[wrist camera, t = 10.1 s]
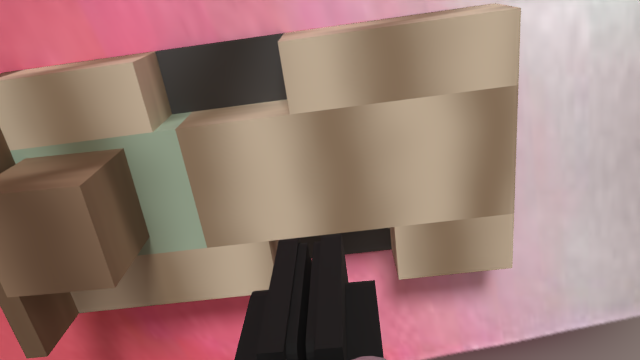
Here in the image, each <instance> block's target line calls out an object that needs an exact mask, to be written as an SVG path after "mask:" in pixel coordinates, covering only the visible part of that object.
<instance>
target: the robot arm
mask: <svg viewBox="0 0 640 360" xmlns="http://www.w3.org/2000/svg"><path fill="white" fill-rule="evenodd" d="M235 360H386V359H384V357H383V349H382V340H381V331H380V322H379V314H378V305H377V296H376V287H375V280H373V281H362V282H350V283H348V276H347V269H346V262H345V254H344V247H343V240H342V234H334V235H324V236H321V241H318V242H314V243H313V255H312V261H311V255H310V249H309V244H308V243H301V240H300V238H294V239H284V240H279V242H278V246H277V251H276V256H275V261H274V266H273V271H272V276H271V281H270V286H269V290H260V291H253V292H252V294H251V297H250V300H249V304H248V308H247V312H246V316H245V320H244V324H243V328H242V332H241V336H240V340H239V344H238V348H237V352H236V356H235Z"/></svg>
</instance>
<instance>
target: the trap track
mask: <svg viewBox="0 0 640 360" xmlns="http://www.w3.org/2000/svg"><path fill="white" fill-rule="evenodd" d="M520 17H521V8H518V7H512V6H507V5H501V4H496V3H495V4H488V5H481V6H474V7H466V8H459V9H452V10H445V11H438V12H431V13H424V14H417V15H410V16H402V17H395V18H388V19H381V20H374V21H367V22H360V23H353V24H346V25H339V26H331V27H324V28H317V29H310V30H303V31H296V32H289V33H282V34H275V35H267V36H260V37H253V38H246V39H239V40H232V41H225V42H218V43H211V44H204V45H196V46H189V47H182V48H175V49H168V50H161V51H154V52H147V53H140V54H132V55H125V56H118V57H111V58H104V59H97V60H90V61H83V62H76V63H69V64H61V65H54V66H47V67H40V68H33V69H26V70H19V71H12V72H5V73H1V74H0V174H1V173H2V172H4V171H6V170H7V169H9V168H10V167H12V166H14V165H15V164H17V163H19V162H20V161H22V160H23V159H25V158H34V157H44V156H54V155H63V154H73V153H82V152H92V151H102V150H111V149H121V148H124V152H125V155H126V158H127V162H128V165H129V168H130V172H131V175H132V179H133V182H134V185H135V189H136V192H137V195H138V199H139V202H140V206H141V209H142V212H143V216H144V219H145V222H146V226H147V229H148V232H149V236H150V237H149V239H148V240H147V242H146V243H145V245H144V246H143V248H142V249H141V251H140V252H139V253H138V255H137V256H136V258H135V259H134V261H133V262H132V264H131V265H130V267H129V268H128V270H127V271H126V273H125V274H124V276H123V277H122V279H121V280H120V282H119V283H118V285H117V286H116V288H111V289H100V290H88V291H77V292H65V293H54V294H42V295H31V296H19V297H8V298H7V296H6V294H5V291H4V289H3V287H2V285H1V283H0V306H1V308H2V310H3V312H4V314H5V316H6V318H7V320H8V322H9V324H10V326H11V328H12V330H13V332H14V334H15V336H16V338H17V340H18V342H19V344H20V346H21V348H22V350H23V352H24V354H25V356H26V358H36V357H46V356H48V355H49V354H50V352H51V351H52V350H53V348H54V347H55V345H56V344H57V343H58V341H59V340H60V339H61V337H62V336H63V334H64V333H65V332H66V330H67V329H68V328H69V326H70V325H71V323H72V322H73V321H74V319H75V318H76V317H77V315H78V314H79V313H84V312H94V311H104V310H113V309H123V308H132V307H142V306H152V305H161V304H171V303H180V302H190V301H200V300H209V299H219V298H228V297H238V296H248V295H251V294H252V292H253V291H260V290H269V286H270V281H271V276H272V271H273V266H274V261H275V256H276V251H277V246H278V242H279V240H284V239H294V238H300V240H301V243H308V244H309V249H310V255H311V258H312V255H313V243H314V242H318V241H321V236H324V235H334V234H342V240H343V247H344V254H353V253H362V252H371V251H380V250H390V249H392V253H393V257H394V261H395V266H396V270H397V274H398V278H399V280H401V279H411V278H420V277H430V276H440V275H449V274H459V273H468V272H478V271H488V270H497V269H507V268H512V259H513V229H514V198H515V168H516V138H517V108H518V78H519V48H520Z"/></svg>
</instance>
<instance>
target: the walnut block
mask: <svg viewBox="0 0 640 360" xmlns="http://www.w3.org/2000/svg"><path fill="white" fill-rule="evenodd" d="M149 237H150V236H149V232H148V229H147V226H146V222H145V219H144V216H143V212H142V209H141V206H140V202H139V199H138V195H137V192H136V189H135V185H134V182H133V179H132V175H131V172H130V168H129V165H128V162H127V158H126V155H125V152H124V148H121V149H111V150H102V151H92V152H82V153H73V154H63V155H54V156H44V157H34V158H25V159H23V160H22V161H20V162H19V163H17V164H15V165H14V166H12V167H10V168H9V169H7V170H6V171H4V172H2V173H1V174H0V283H1V285H2V287H3V289H4V291H5V294H6V296H7V298H8V297H19V296H31V295H42V294H54V293H65V292H77V291H88V290H100V289H111V288H116V286H117V285H118V283H119V282H120V280H121V279H122V277H123V276H124V274H125V273H126V271H127V270H128V268H129V267H130V265H131V264H132V262H133V261H134V259H135V258H136V256H137V255H138V253H139V252H140V251H141V249H142V248H143V246H144V245H145V243H146V242H147V240H148V239H149Z"/></svg>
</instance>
